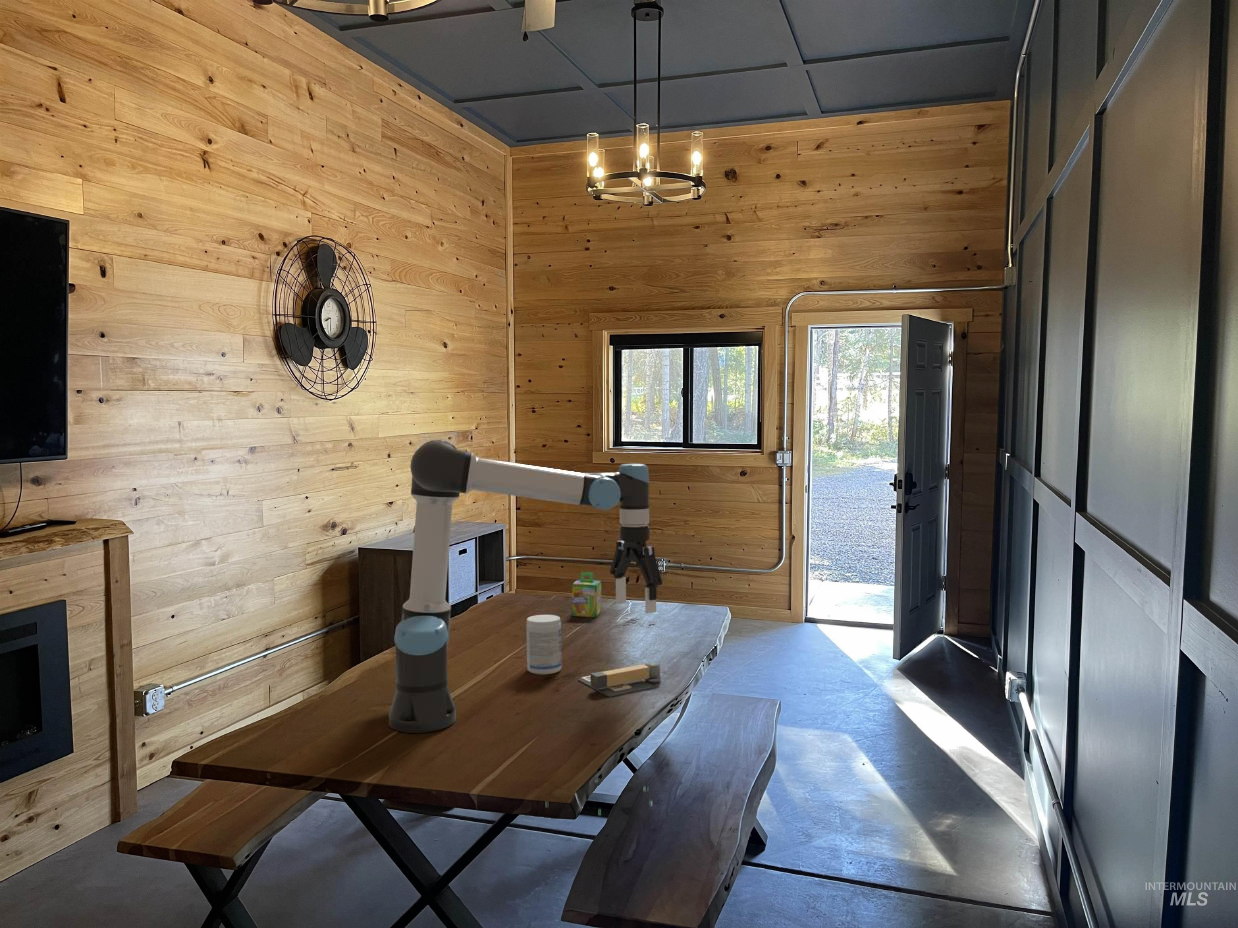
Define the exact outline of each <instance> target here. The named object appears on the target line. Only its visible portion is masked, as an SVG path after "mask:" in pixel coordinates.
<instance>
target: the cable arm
mask: <svg viewBox="0 0 1238 928" xmlns="http://www.w3.org/2000/svg"><path fill="white" fill-rule="evenodd" d="M590 676H591V686H592V687H594V688H596V689H600V688H605V687H607V686H613V685H618V684H623V683H628V682H633V681H638V680H643V681H644V679H648V678H657V677H660V676H661V664H660V663H659V662H653V661H651V662H646V663H644V664H638V665H637V664H636V665H632V666H627V667H621V668H615V669H609V670H604V671H597V672H591V673H590Z"/></svg>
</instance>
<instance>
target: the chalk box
mask: <svg viewBox="0 0 1238 928" xmlns="http://www.w3.org/2000/svg"><path fill="white" fill-rule="evenodd" d="M586 576H589V578H588V579H587V578H586V579H585V577H586ZM601 610H602V581H601V580H597V579H594V572H593V571H592V572H591V571H590V572H586V571H582V572H580V578H579V579H577V580H575V581H574V582H573V583H572V584H571V617H579V618H580V617H583V618H597V617H598V616H599V614H601V612H602V611H601Z"/></svg>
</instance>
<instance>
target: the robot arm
mask: <svg viewBox="0 0 1238 928" xmlns="http://www.w3.org/2000/svg"><path fill="white" fill-rule="evenodd" d="M410 474H411V487H410V489H411V491H410V495H411V496H412V498H413V499H414V500H415V502H416V507H415V520H414V533H413V546H412V547H413V548H412V560H411V562H412V563H411V573H410V574H411V576H410V588H409V589H410V590H409V598H408V600H406V601H405V602H404V603H403V604H402V612H401V613H402V614H401V621H399V623H398V624H397V625H396V627H395V634H394V637H393V639H394V644H395V645H394V646H395V694H394V697H393V700H392V703H391V706H390V710H389V713H388V726H389V727H390V728H391V729H392V730H394V731H396V732H401V733H406V734H409V733H410V734H419V733H420V734H422V733H431V732H436V731H439V730H443V729H446V728H448V727H450V726H451V725H454V723H455V721H456V720H457V715H456V714H457V712H456V711H457V710H456V707H455V704H454V701H453V698H452V695H451V691H450V690H449V686H448V684H449V683H448V649H449V648H448V646H449V640H450V637H451V636H450V635H451V628H450V627H451V626H450V625H451V611H452V606H451V605H450V604H449V602H447V600H446V595H447V594H446V593H447V581H448V570H449V569H448V567H449V554H450V543H451V541H450V540H451V531H452V528H451V527H452V518H453V517H452V514H453V505H454V503H455V502H456V501H457V500H458V499H459V498H460V493H461V494H468V493H470V492H471V491H476V492H478V491H479V492H485V493H493V494H499V495H508V496H513V497H521V498H528V499H529V498H530V499H535V500H541V501H550V502H557V503H563V504H572V505H578V506H584V507H590V508H596V509H597V510H600V511H604V510H605V511H606V510H607V511H608V510H611V509H613V508H614V507H616V506H617V505H618V504H619V523H620V524H621V525H620V526H619V539H620V540H617V541H616V544H615V551H614V556H613V559H612V562H611V566H610V570H609V574H610V575H612V576H613V578H614V582H615V584H614V585H615V587H614V589H615V604H617V605H618V604H624V603H627V578H626V573H627V570H628V568H629V567H630V564H631V563H632V562H633V563H635V564H636V565H637V566H638V568H639V570H640V572H641V574H642V576H643V579H644V581H645V584H646V585H645V587H644V588H645V589H644V593H645V595H644V598H645V600H644V601H645V604H644V605H645V609H644V610H645V612H644V614H652V613H656V612H657V597H658V595H657V593H658V592H657V588H658V587H659V586H662V585H663V579H662V576H661V572H660V570H659V566H658V562H657V558H656V554H655V547H654V545H653V546H647V541H649V540H650V537H651V535H650V533H651V531H650V526H649V525H648V524H649V523H650V475H649V474H650V473H649V467H648V466H647V465H646V464H644V463H623V464H620V465H619V468H618V471H616V472H577V471H576V472H575V471H569V470H562V469H557V468H555V469H554V468H549V467H542V466H535V465H528V464H523V463H516V462H515V463H514V462H510V461H509V462H508V461H504V460H496V459H488V458H482V457H477V455H476V454H475V453H474V452H472V451H465V450H461V449H458V448H456V446H455V445H454V444H452V443H450V442H448V441H445V440H440V439H436V440H433V439H432V440H430V441H427V442H425V443H422V445H420V446H419V447H418V448H417V450H416V451H415V452H414V453H413V454H412V457H411V460H410Z"/></svg>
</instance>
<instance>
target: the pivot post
mask: <svg viewBox="0 0 1238 928" xmlns="http://www.w3.org/2000/svg"><path fill="white" fill-rule="evenodd" d="M643 681H645V682H647V683H649V684H651V685H655V684H659V683H661V681H662V677H661V675H660V677H657V678H648V679H643Z"/></svg>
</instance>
